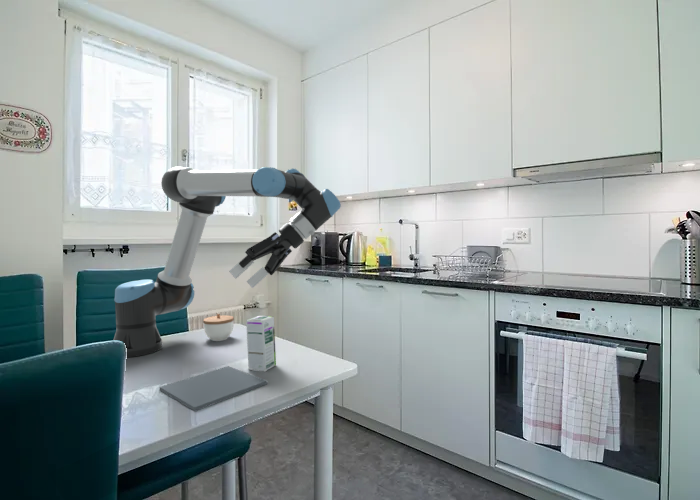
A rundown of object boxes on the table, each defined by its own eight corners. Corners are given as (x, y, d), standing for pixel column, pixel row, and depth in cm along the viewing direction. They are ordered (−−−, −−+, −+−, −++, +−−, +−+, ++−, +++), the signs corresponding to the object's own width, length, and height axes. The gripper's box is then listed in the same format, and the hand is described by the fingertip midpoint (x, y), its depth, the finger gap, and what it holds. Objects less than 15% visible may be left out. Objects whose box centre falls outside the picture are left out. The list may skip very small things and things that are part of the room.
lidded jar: (240, 336, 142) (239, 312, 142) (219, 344, 133) (218, 317, 132) (219, 334, 147) (218, 310, 147) (197, 341, 137) (196, 315, 137)
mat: (159, 390, 93) (159, 386, 93) (228, 368, 107) (228, 365, 107) (194, 411, 81) (194, 407, 81) (266, 383, 95) (266, 380, 95)
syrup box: (265, 372, 104) (263, 320, 103) (247, 370, 106) (245, 319, 105) (276, 365, 109) (274, 315, 109) (259, 363, 111) (257, 314, 111)
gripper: (295, 224, 98) (232, 280, 95) (312, 251, 122) (262, 296, 119) (276, 206, 100) (215, 260, 97) (297, 236, 124) (248, 280, 121)
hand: (241, 280), depth 108 cm, fingers open, 13 cm apart
